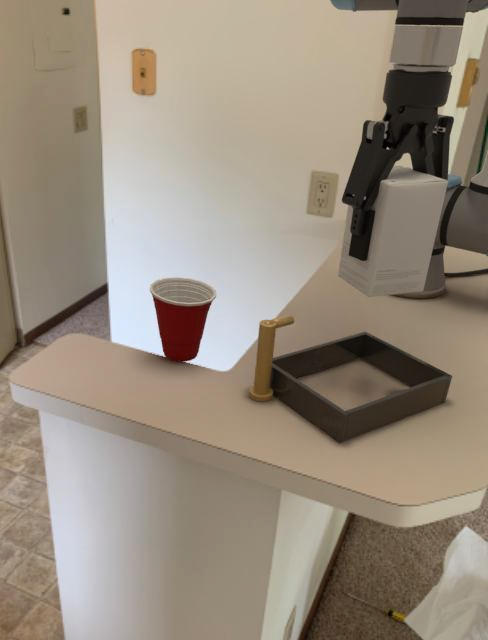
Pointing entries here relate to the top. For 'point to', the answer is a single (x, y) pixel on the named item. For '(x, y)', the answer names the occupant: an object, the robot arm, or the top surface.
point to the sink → (327, 416)
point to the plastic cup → (181, 315)
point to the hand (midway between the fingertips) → (385, 251)
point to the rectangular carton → (397, 235)
